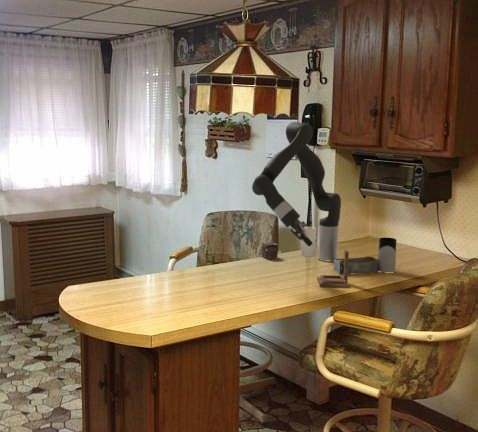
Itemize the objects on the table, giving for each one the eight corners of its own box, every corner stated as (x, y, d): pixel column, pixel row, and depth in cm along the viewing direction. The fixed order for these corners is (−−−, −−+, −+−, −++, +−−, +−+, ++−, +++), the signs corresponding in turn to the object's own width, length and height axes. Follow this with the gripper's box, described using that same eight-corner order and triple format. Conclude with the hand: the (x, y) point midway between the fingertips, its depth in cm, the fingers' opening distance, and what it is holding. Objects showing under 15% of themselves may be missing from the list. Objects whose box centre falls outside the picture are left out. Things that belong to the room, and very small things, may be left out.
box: (261, 257, 293) (261, 242, 292) (271, 256, 296) (272, 241, 295) (266, 259, 288) (267, 245, 287) (277, 258, 290) (278, 244, 289)
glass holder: (376, 272, 265) (377, 240, 263) (376, 265, 279) (378, 234, 276) (396, 274, 263) (398, 241, 261) (395, 266, 277) (397, 235, 274)
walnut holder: (316, 279, 253) (318, 247, 251) (344, 279, 253) (346, 248, 251) (319, 287, 241) (321, 253, 239) (349, 287, 241) (350, 254, 239)
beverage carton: (332, 270, 269) (333, 256, 268) (371, 269, 273) (372, 255, 272) (339, 275, 261) (340, 260, 260) (379, 273, 265) (380, 259, 264)
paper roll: (301, 254, 250) (302, 225, 248) (314, 254, 250) (315, 226, 248) (302, 257, 245) (303, 228, 243) (315, 257, 245) (316, 228, 242)
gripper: (287, 210, 240) (314, 241, 238) (297, 205, 253) (323, 234, 251) (275, 222, 243) (302, 252, 241) (285, 216, 256) (311, 245, 254)
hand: (312, 243), depth 246 cm, fingers closed on paper roll, 5 cm apart
